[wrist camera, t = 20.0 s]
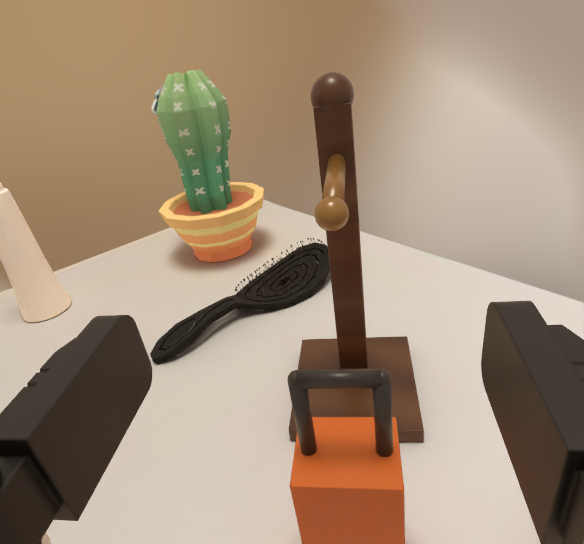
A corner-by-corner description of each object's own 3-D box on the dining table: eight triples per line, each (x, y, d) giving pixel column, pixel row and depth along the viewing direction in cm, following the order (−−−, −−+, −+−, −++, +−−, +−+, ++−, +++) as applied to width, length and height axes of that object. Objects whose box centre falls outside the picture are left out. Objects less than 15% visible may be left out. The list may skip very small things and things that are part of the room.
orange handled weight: (405, 605, 23) (403, 408, 16) (313, 598, 24) (272, 408, 17) (398, 530, 27) (394, 340, 20) (318, 526, 28) (286, 343, 20)
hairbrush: (128, 325, 46) (300, 230, 58) (140, 351, 48) (304, 253, 60) (163, 359, 40) (345, 245, 53) (176, 387, 42) (348, 271, 54)
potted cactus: (262, 220, 74) (233, 60, 62) (284, 256, 61) (253, 63, 49) (172, 240, 72) (124, 78, 60) (175, 283, 59) (114, 85, 47)
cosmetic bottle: (13, 325, 55) (-83, 151, 44) (38, 299, 60) (-42, 138, 49) (58, 320, 54) (-27, 143, 44) (79, 294, 60) (7, 131, 49)
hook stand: (430, 479, 29) (444, 83, 17) (285, 476, 31) (205, 113, 19) (407, 346, 41) (405, 58, 29) (303, 348, 43) (262, 77, 31)
